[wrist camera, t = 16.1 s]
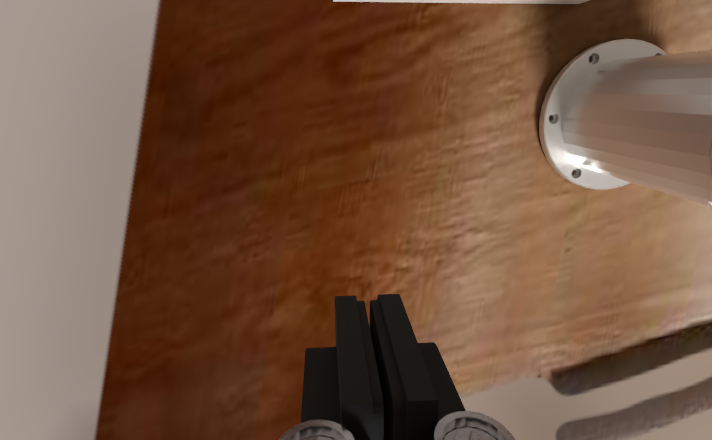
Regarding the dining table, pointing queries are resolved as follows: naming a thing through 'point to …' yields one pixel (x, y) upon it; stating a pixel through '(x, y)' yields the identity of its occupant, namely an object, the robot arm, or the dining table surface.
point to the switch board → (477, 1)
